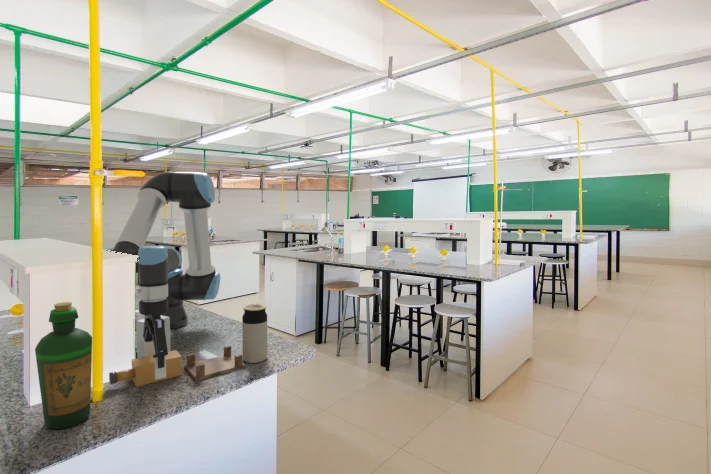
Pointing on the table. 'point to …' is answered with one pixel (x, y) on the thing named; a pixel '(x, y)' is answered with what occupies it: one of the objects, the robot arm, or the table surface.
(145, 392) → the table surface
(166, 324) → the small box
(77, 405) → the bottle
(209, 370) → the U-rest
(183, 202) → the robot arm
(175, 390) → the table surface
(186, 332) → the table surface
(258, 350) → the travel mug
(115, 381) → the amber bottle
